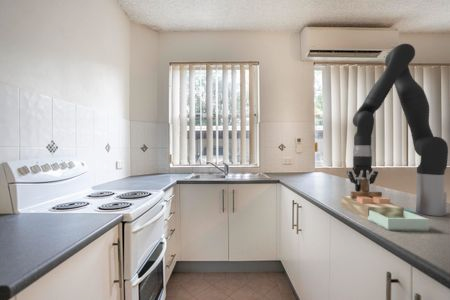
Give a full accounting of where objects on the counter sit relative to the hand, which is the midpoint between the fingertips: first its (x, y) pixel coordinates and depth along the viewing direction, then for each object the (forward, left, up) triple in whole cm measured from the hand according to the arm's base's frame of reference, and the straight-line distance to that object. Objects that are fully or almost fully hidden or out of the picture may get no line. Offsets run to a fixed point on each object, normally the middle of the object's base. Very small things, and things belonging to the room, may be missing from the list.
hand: (362, 192), depth 112 cm
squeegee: (-15, -4, -9) cm, 18 cm away
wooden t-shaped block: (0, +1, -2) cm, 2 cm away
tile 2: (-3, +9, -3) cm, 10 cm away
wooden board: (0, +6, -8) cm, 10 cm away
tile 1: (+4, +9, -3) cm, 10 cm away
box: (0, +23, -8) cm, 24 cm away
